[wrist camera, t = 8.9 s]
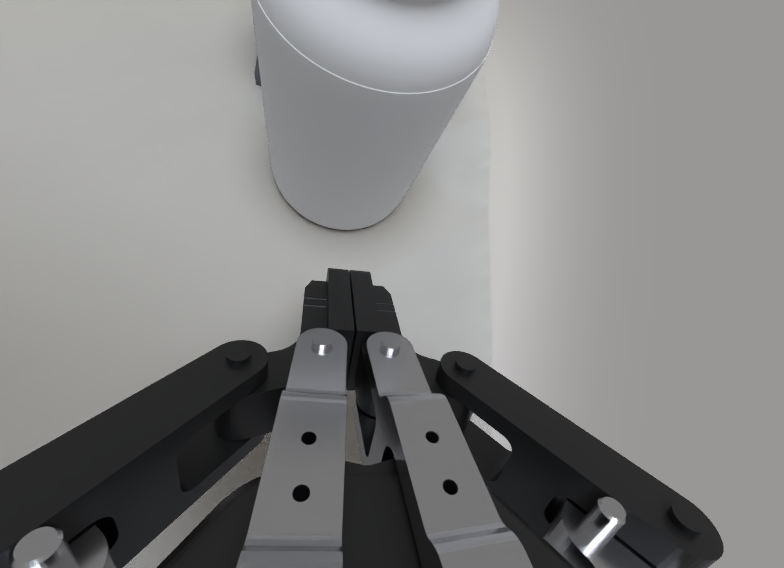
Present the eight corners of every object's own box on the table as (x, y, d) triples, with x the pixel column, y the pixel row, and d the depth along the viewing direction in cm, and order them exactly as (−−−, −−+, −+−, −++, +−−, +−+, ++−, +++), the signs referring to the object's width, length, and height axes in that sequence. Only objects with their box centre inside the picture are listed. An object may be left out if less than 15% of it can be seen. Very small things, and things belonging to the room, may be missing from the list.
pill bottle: (398, 247, 21) (587, -7, 7) (256, 215, 20) (146, -185, 6) (414, 134, 24) (584, -230, 9) (288, 98, 22) (266, -401, 8)
